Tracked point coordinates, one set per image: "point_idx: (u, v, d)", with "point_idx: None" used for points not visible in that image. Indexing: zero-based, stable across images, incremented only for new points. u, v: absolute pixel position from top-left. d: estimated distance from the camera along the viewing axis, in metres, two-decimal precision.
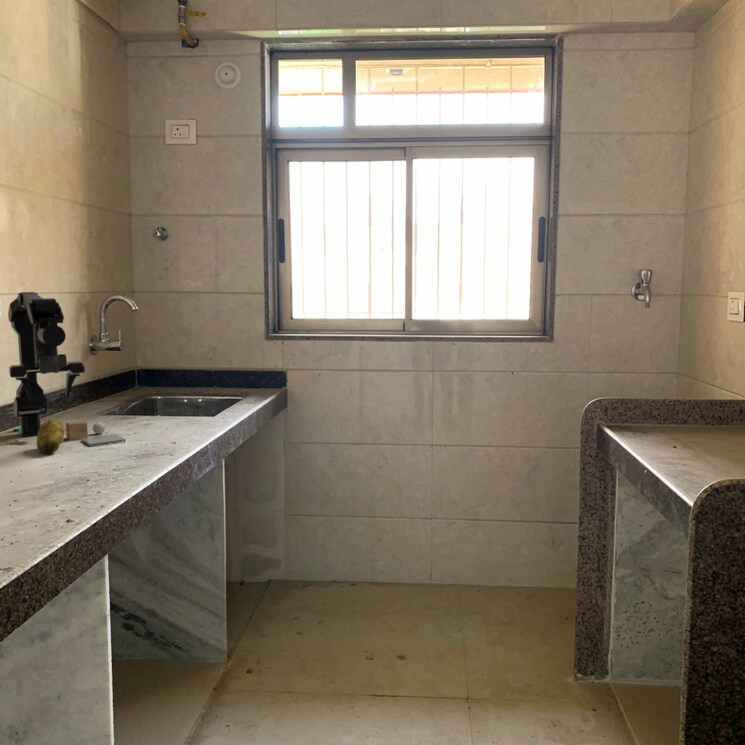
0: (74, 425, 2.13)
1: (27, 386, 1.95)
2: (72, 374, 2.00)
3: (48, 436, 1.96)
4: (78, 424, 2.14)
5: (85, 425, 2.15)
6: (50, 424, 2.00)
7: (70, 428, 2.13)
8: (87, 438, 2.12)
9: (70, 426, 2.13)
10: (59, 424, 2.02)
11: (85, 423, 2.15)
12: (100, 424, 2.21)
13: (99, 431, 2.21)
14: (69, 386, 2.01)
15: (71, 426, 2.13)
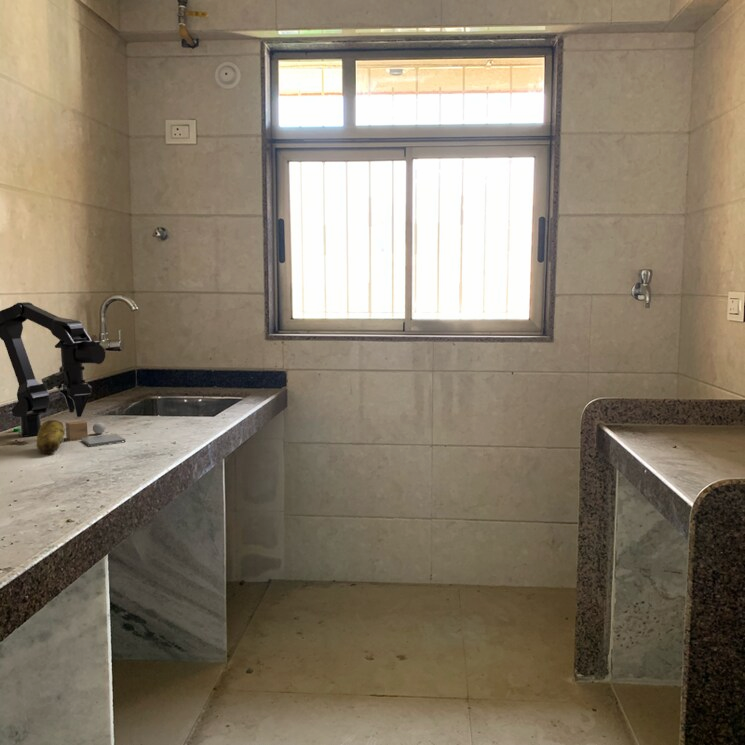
0: (74, 425, 2.13)
1: (65, 398, 2.19)
2: (70, 394, 2.09)
3: (48, 436, 1.96)
4: (78, 424, 2.14)
5: (85, 425, 2.15)
6: (50, 424, 2.00)
7: (70, 428, 2.13)
8: (87, 438, 2.12)
9: (70, 426, 2.13)
10: (59, 424, 2.02)
11: (85, 423, 2.15)
12: (100, 424, 2.21)
13: (99, 431, 2.21)
14: (74, 405, 2.10)
15: (71, 426, 2.13)
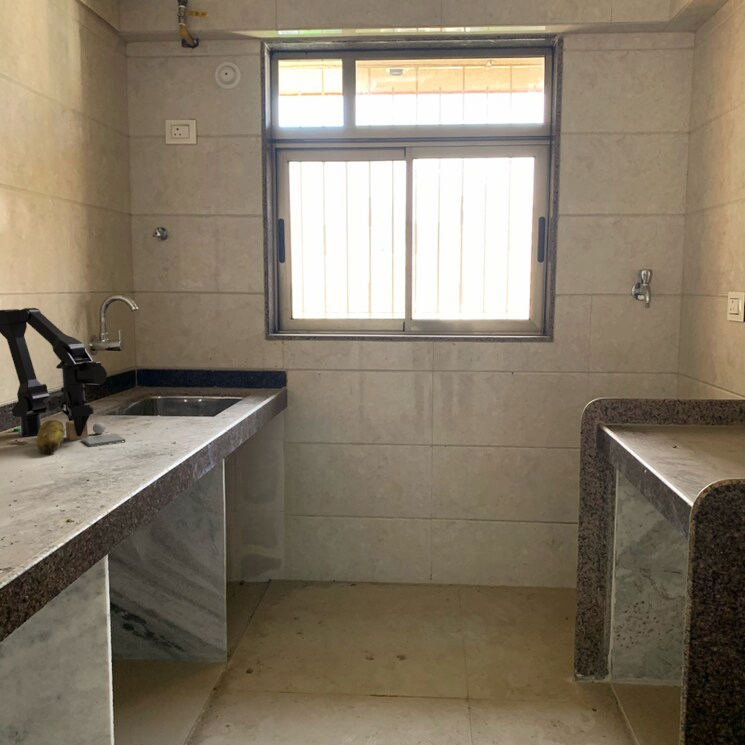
0: None
1: (69, 419, 2.18)
2: (70, 414, 2.11)
3: (48, 436, 1.96)
4: None
5: (85, 425, 2.15)
6: (50, 424, 2.00)
7: (70, 428, 2.13)
8: (87, 438, 2.12)
9: (70, 426, 2.13)
10: (59, 424, 2.02)
11: None
12: (100, 424, 2.21)
13: (99, 431, 2.21)
14: (74, 425, 2.13)
15: (71, 426, 2.13)
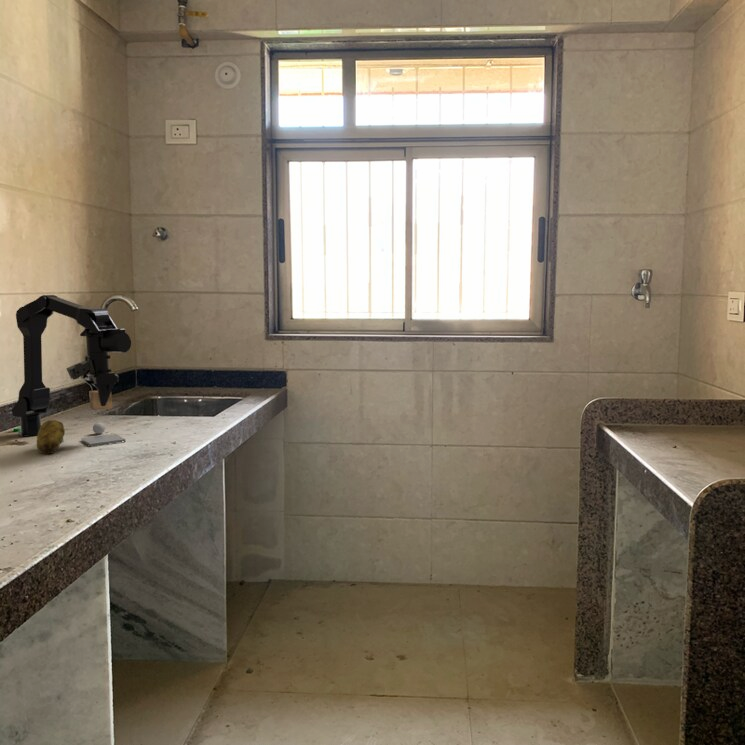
0: (98, 394, 2.07)
1: (92, 389, 2.11)
2: (95, 383, 2.04)
3: (48, 436, 1.96)
4: None
5: None
6: (50, 424, 2.00)
7: (94, 397, 2.06)
8: (87, 438, 2.12)
9: (94, 395, 2.06)
10: (59, 424, 2.02)
11: None
12: (100, 424, 2.21)
13: (99, 431, 2.21)
14: (99, 394, 2.06)
15: (95, 395, 2.06)
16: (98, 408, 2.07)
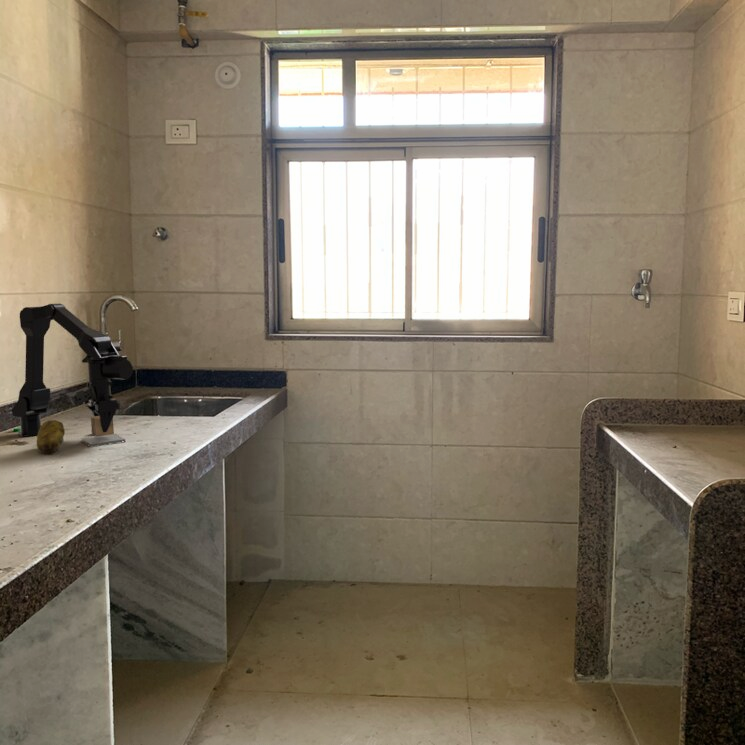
0: None
1: (94, 415, 2.12)
2: (97, 410, 2.05)
3: (48, 436, 1.96)
4: None
5: None
6: (50, 424, 2.00)
7: (96, 423, 2.07)
8: (87, 438, 2.12)
9: (96, 421, 2.07)
10: (59, 424, 2.02)
11: None
12: None
13: None
14: (100, 421, 2.07)
15: (97, 421, 2.07)
16: (100, 434, 2.08)
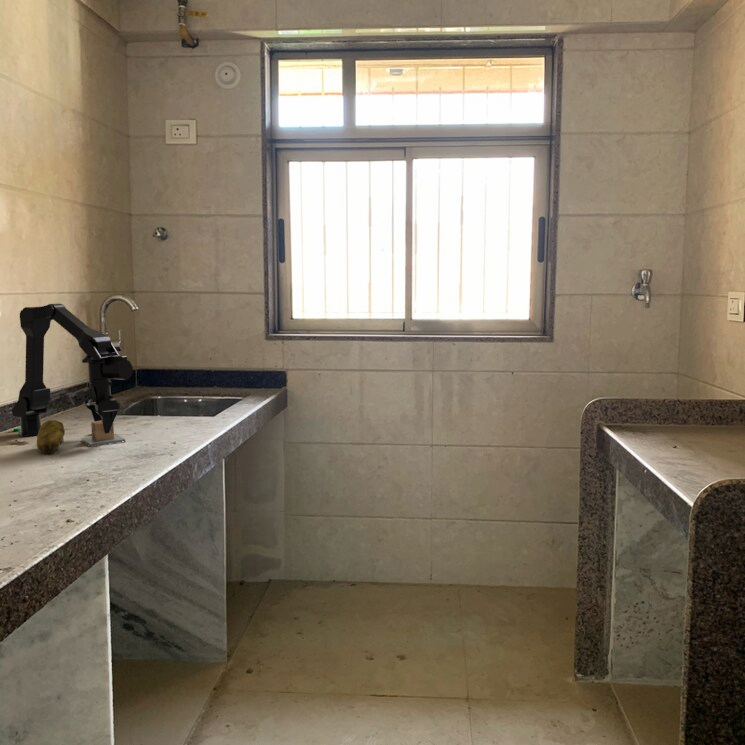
0: (100, 425, 2.08)
1: (92, 414, 2.14)
2: (98, 411, 2.04)
3: (48, 436, 1.96)
4: None
5: None
6: (50, 424, 2.00)
7: (96, 428, 2.07)
8: (87, 438, 2.12)
9: (96, 426, 2.07)
10: (59, 424, 2.02)
11: None
12: None
13: None
14: (102, 422, 2.05)
15: (97, 426, 2.08)
16: (100, 439, 2.08)
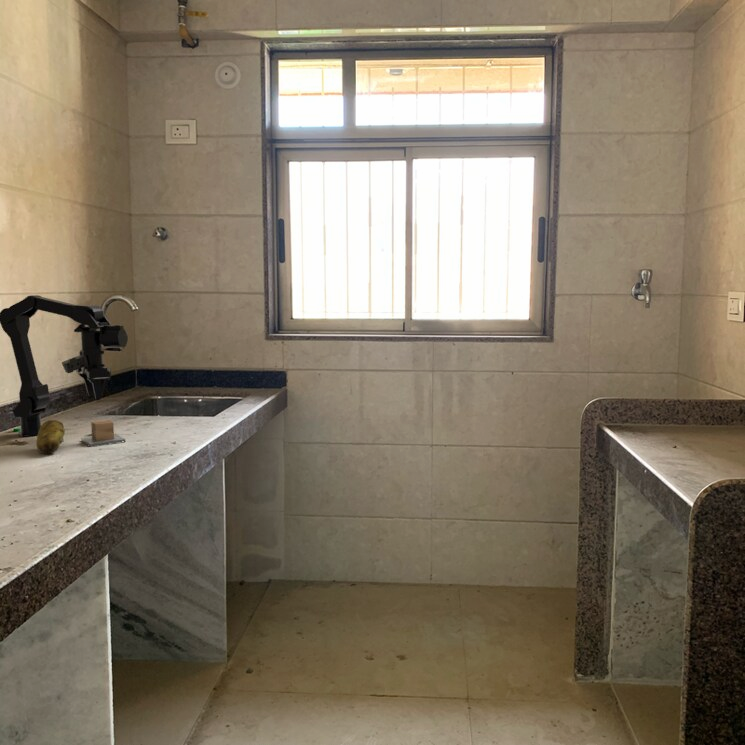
0: (100, 425, 2.08)
1: (85, 382, 2.21)
2: (90, 378, 2.11)
3: (48, 436, 1.96)
4: (104, 424, 2.09)
5: (111, 425, 2.10)
6: (50, 424, 2.00)
7: (96, 428, 2.07)
8: (87, 438, 2.12)
9: (96, 426, 2.07)
10: (59, 424, 2.02)
11: (111, 423, 2.10)
12: None
13: None
14: (93, 389, 2.13)
15: (97, 426, 2.08)
16: (100, 439, 2.08)
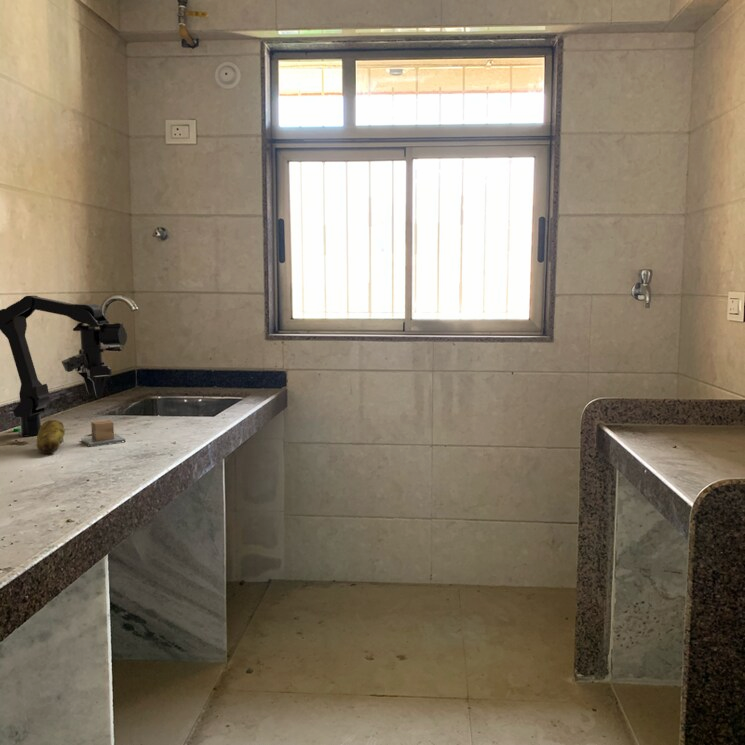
0: (100, 425, 2.08)
1: (84, 381, 2.22)
2: (90, 376, 2.12)
3: (48, 436, 1.96)
4: (104, 424, 2.09)
5: (111, 425, 2.10)
6: (50, 424, 2.00)
7: (96, 428, 2.07)
8: (87, 438, 2.12)
9: (96, 426, 2.07)
10: (59, 424, 2.02)
11: (111, 423, 2.10)
12: None
13: None
14: (94, 387, 2.14)
15: (97, 426, 2.08)
16: (100, 439, 2.08)
